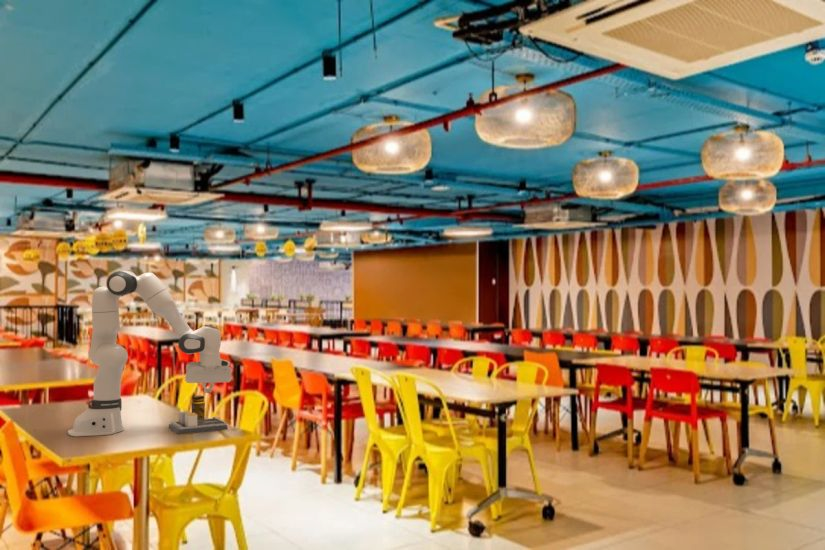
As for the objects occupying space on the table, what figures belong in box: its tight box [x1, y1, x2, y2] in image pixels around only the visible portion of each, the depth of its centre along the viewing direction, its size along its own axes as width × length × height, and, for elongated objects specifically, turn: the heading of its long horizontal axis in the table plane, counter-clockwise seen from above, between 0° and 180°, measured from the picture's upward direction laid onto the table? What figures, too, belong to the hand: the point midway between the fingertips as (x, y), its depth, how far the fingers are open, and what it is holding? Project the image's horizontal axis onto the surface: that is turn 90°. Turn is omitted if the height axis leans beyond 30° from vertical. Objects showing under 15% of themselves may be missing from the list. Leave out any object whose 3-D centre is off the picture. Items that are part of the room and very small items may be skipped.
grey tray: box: [168, 416, 228, 435], centre depth 332 cm, size 22×15×3 cm
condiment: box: [191, 394, 206, 420], centre depth 351 cm, size 7×8×12 cm
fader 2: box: [185, 412, 197, 427], centre depth 327 cm, size 4×5×5 cm
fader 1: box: [178, 410, 191, 424], centre depth 333 cm, size 4×5×5 cm
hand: (207, 392), depth 331 cm, fingers closed
